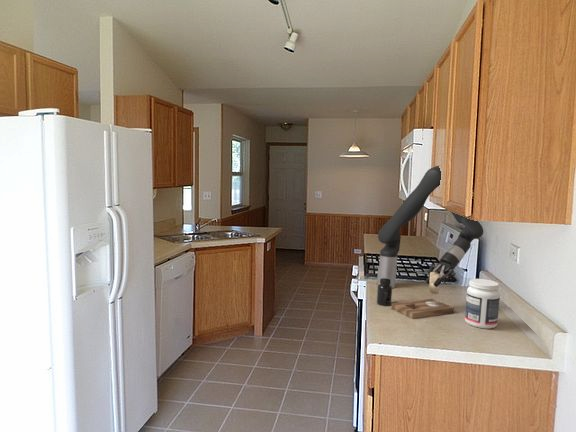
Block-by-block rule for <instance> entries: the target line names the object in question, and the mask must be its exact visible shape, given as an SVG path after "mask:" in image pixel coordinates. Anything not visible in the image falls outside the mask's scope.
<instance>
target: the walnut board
mask: <svg viewBox="0 0 576 432" xmlns="http://www.w3.org/2000/svg"><path fill="white" fill-rule="evenodd" d="M391 310H393V311H395V312H397V313H399V314H402V315H403V316H405V317H408V318H409V319H410V320H411V319H413V320H414V319H421V318H427V317H434V316H440V315H446V314H447V315H449V314H453V313H454V310H455V309H454V307H453V306H451V305H448V304H446V303H445V302H441V301H438V300H436V299H434V298H427V299H417V300H409V301H400V302H391Z"/></svg>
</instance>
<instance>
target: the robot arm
mask: <svg viewBox="0 0 576 432" xmlns="http://www.w3.org/2000/svg"><path fill="white" fill-rule="evenodd" d="M439 166H440V165H436V166H433V167H431V168H429V169H428V170H427V171H426V172H425V173H424V175H423V177H422V178H421V180H420V181H419V183H418V185H417V186H416V187H415V189H414V190H412V191H411V193H410V194H409V195H408V196H407V197H406V198H405V200H404V201H403V202H402V204H401V205H400V206H399V208H398V209H397V210H396V211H395V212H394V214H393V215H392V216H391V217H390V219H389V220H388V221H387V222H386V223H385V224H384V225H383V226H382V227H381V228H380V229H379V230H378V234H377V239H378V241H379V242H380V243H381V244H385V245H384V246H383V247H382V248H381V249H380V251H379V265H378V268H377V277H376V278H377V279H376V285H377V286H378V285H379V284H380V279H381V278H387V279H390V280H391V281H390V283H391V284H390V285H391V286H392V289H394V288H396V281H397V280H396V279H397V278H396V277H397V265H398V253H399V251H400V248H401V247H400V246H401V237H402V235H401V231H400V228H402V227H403V226H404V225H406V224H407V223H409V222H410V221H412V220H413V219H415V218H416V216H417V215H418V214H419V213H420V211H422V209H423V207H424V206H425V204H426V202H427V199H428V198H429V196H430V195H431V194H432V193H433V192H434V191H435V190H436V189H437V188H438V187H439V185H440V180H441V171H440V168H439ZM450 213H451V214H452V216H453V218H454V220H456V222H457V223H459V224H462V225H463V226H464V227H463V229H461V231H460V232H459V235H458V237H457V238H456V240H455V241H454V242H453V244H451V246H449V248H448V249H447V250H446V251H445V253H444V254H443V255H442V256H441V258H440V260H439V262H438V263H437V264H434V263H431V265H430V266H429V268H428V271H427V274H428V275H429V276H428V277H427V278H426V279H425V283H426V284H427V285H429V281H430V273H431V272H435V273H440V276H439V278H438V279H437V280H436V281H435V282H434V286H435V287H437V286H439V287H440V285H441V284H442V282H448V281H449V280H450V279H451V278H453V277H454V276H455V275H456V271H455V269H456V267H457V266H458V265H459V264H460V262H461V261H462V260H463V259H464V257H465V255H466V253H468V251H469V250H470V248H471V243H472V242H473V240H476V239H480V238H481V237H482V236H483V235H484V227H483V225H482V224H481V223H480V222H479V220H477V221H474V220H470V219H467V218H465V217H463V216H460V215H458V214H455V213H453V212H451V211H450Z"/></svg>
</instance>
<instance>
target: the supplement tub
mask: <svg viewBox="0 0 576 432" xmlns="http://www.w3.org/2000/svg"><path fill="white" fill-rule="evenodd" d="M468 285H469V286H468V288H467V290H466V297H465V311H464V320H465V322H466V323H467V325H470V326H471V327H474V328H479V329H490V330H491V329H494V328H497V325H498V322H499V320H498V319H499V308H500V300H501V299H500V298H501V293H500V290H499V288H500V283H499V282H497V281H494V280H490V279H485V278H472V279H470V280H469V283H468Z"/></svg>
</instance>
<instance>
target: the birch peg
mask: <svg viewBox="0 0 576 432" xmlns="http://www.w3.org/2000/svg"><path fill="white" fill-rule="evenodd" d="M429 276H430V281H429V284H428V293H429V294H432V295H433V294H434V295H439V292H440V285H439V286H437V287H435V286H434V282H435V281H436V280H437V279H438V278H439V276H440V273H438V272H437V273H435V272H431V273H430V275H429Z"/></svg>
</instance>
